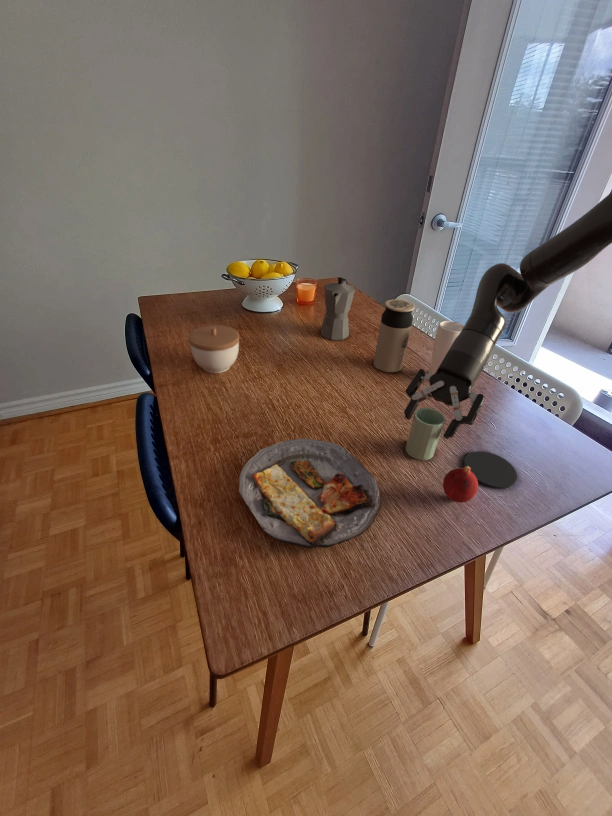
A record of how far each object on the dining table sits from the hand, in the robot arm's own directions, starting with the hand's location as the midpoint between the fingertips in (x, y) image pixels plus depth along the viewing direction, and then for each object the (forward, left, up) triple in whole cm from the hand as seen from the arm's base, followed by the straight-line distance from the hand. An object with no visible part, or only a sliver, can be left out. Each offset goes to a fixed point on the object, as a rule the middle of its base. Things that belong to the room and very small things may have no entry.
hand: (425, 427), depth 79 cm
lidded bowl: (+42, -38, -7) cm, 57 cm away
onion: (-2, +13, -7) cm, 15 cm away
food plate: (+25, +9, -7) cm, 27 cm away
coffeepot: (+5, -57, -7) cm, 58 cm away
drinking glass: (-17, -28, -7) cm, 34 cm away
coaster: (-12, +7, -6) cm, 15 cm away
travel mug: (-5, -35, -7) cm, 36 cm away
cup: (0, 0, -6) cm, 6 cm away
